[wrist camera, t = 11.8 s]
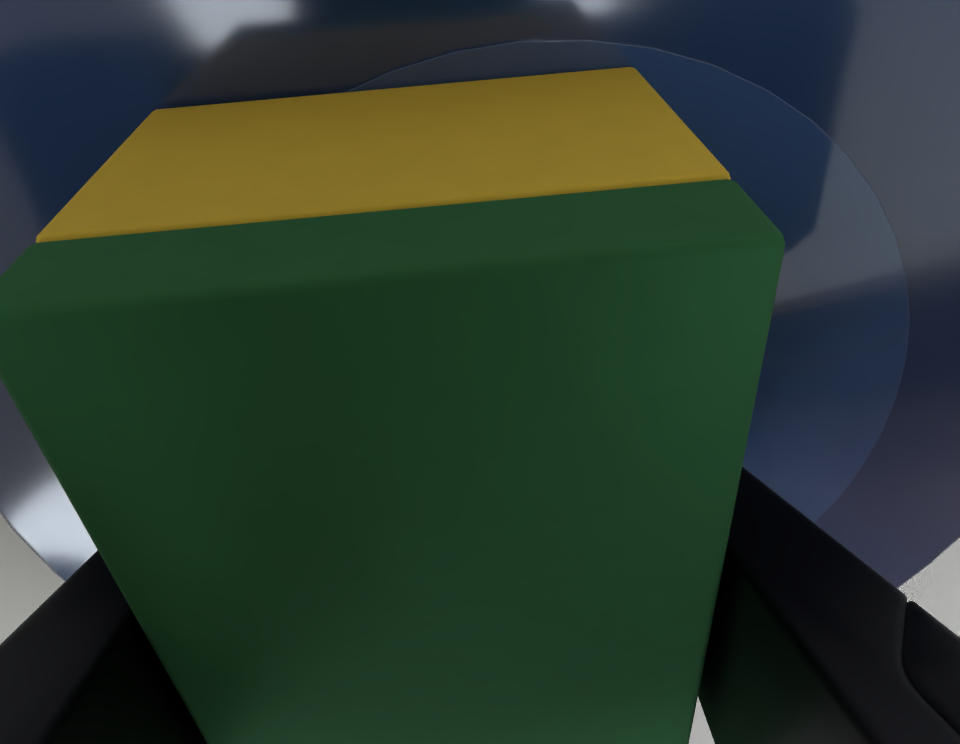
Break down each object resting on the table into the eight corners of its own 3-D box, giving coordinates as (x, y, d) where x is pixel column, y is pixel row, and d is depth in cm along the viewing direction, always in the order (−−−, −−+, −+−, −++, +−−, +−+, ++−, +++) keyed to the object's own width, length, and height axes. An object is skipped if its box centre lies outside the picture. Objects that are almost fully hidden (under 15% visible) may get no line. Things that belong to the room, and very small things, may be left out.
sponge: (608, 565, 12) (675, 823, 9) (310, 595, 12) (272, 865, 9) (635, 64, 8) (793, 235, 4) (150, 107, 8) (-44, 314, 4)
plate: (902, 642, 16) (929, 687, 15) (169, 714, 16) (156, 763, 15) (1371, -391, 7) (1506, -423, 6) (-398, -243, 7) (-516, -253, 6)
